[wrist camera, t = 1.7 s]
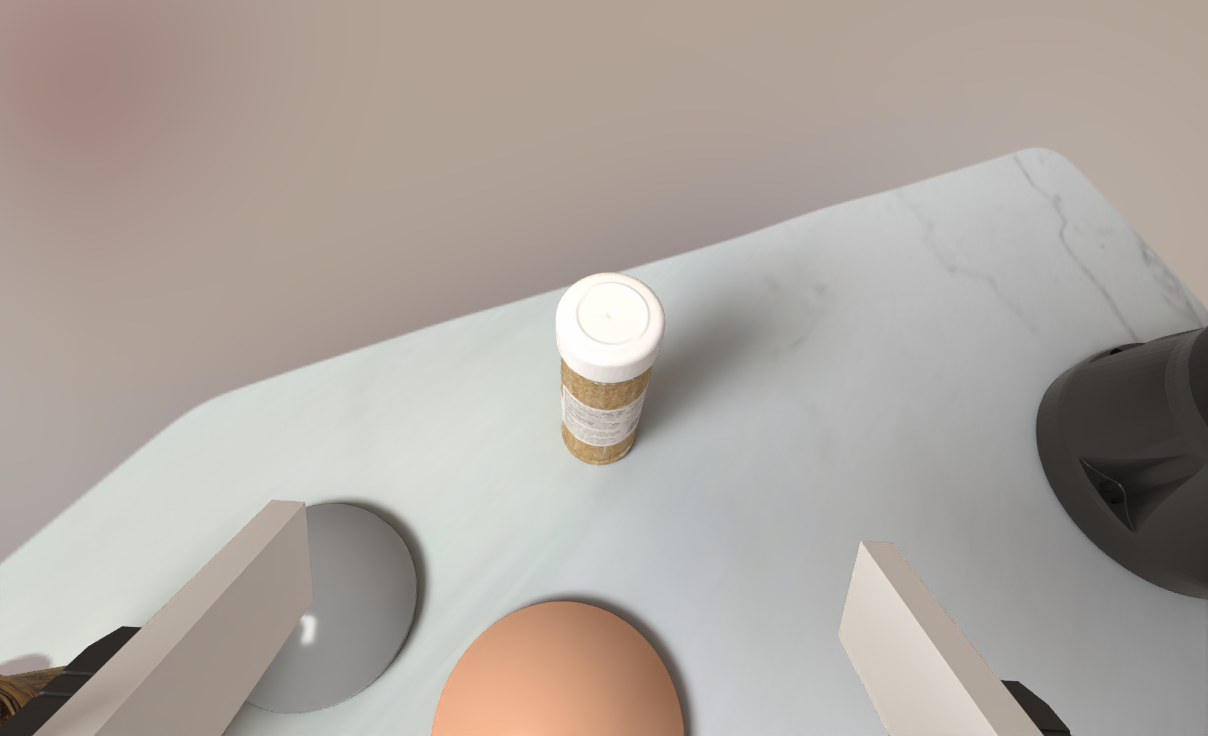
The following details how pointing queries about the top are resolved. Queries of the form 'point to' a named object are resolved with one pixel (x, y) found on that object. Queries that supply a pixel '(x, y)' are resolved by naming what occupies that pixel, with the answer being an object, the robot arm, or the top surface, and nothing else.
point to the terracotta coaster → (559, 679)
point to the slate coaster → (343, 613)
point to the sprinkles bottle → (606, 362)
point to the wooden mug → (22, 689)
